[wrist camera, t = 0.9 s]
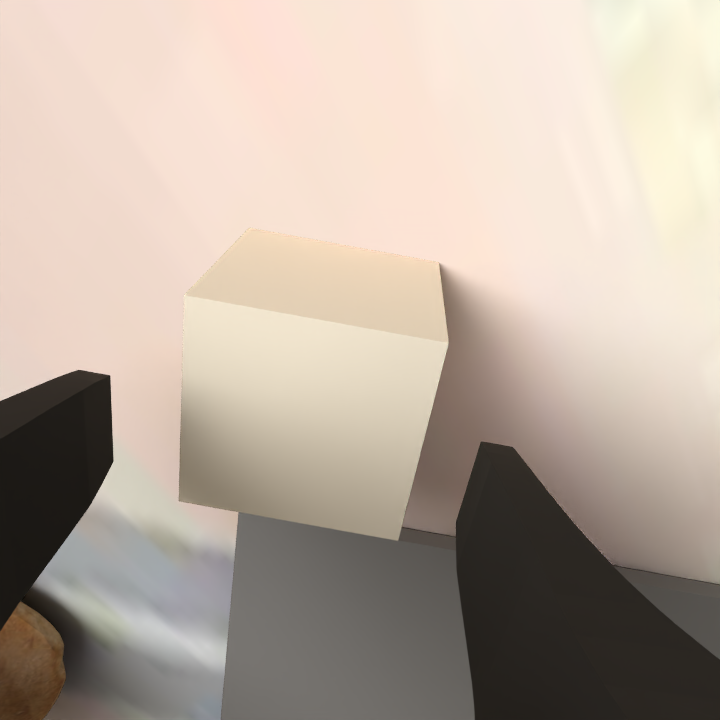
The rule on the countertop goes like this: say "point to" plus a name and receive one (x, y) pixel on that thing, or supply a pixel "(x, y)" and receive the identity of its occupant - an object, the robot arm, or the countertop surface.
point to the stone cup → (29, 665)
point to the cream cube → (309, 381)
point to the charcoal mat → (373, 624)
